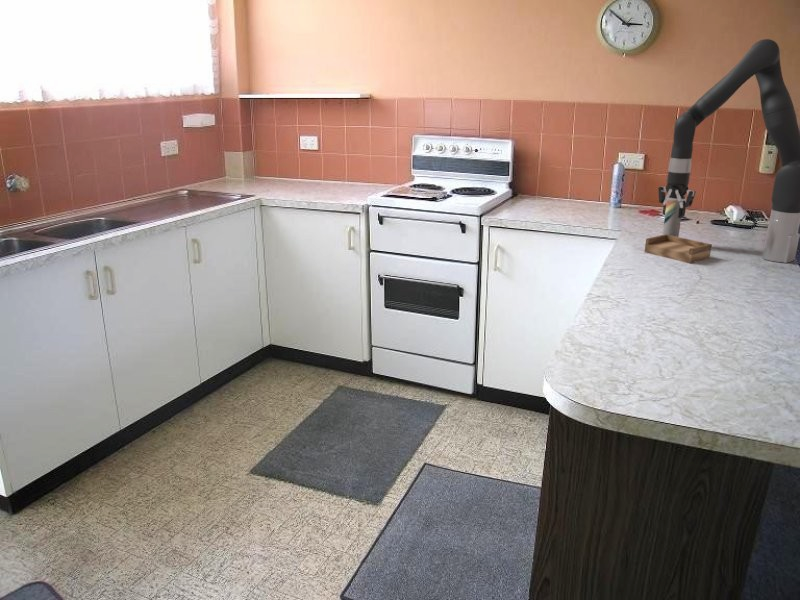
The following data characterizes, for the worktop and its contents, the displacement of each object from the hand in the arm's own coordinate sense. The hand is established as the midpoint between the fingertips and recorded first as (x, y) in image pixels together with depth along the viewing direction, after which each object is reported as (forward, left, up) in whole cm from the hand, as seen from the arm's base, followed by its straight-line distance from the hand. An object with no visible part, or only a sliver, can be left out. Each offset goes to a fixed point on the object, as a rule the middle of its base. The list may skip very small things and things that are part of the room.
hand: (673, 216), depth 248 cm
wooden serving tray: (-11, +12, -11) cm, 19 cm away
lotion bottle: (0, 0, -9) cm, 9 cm away
